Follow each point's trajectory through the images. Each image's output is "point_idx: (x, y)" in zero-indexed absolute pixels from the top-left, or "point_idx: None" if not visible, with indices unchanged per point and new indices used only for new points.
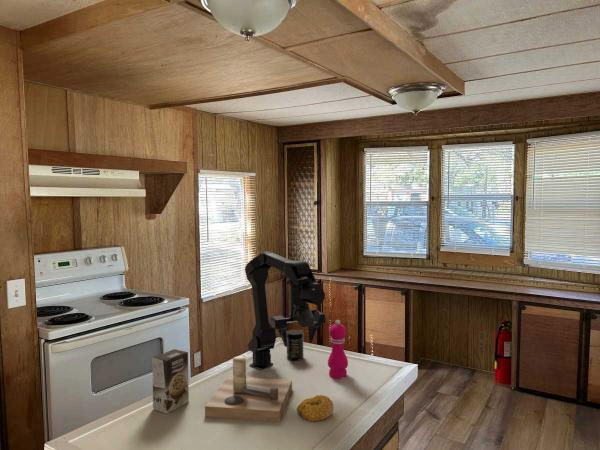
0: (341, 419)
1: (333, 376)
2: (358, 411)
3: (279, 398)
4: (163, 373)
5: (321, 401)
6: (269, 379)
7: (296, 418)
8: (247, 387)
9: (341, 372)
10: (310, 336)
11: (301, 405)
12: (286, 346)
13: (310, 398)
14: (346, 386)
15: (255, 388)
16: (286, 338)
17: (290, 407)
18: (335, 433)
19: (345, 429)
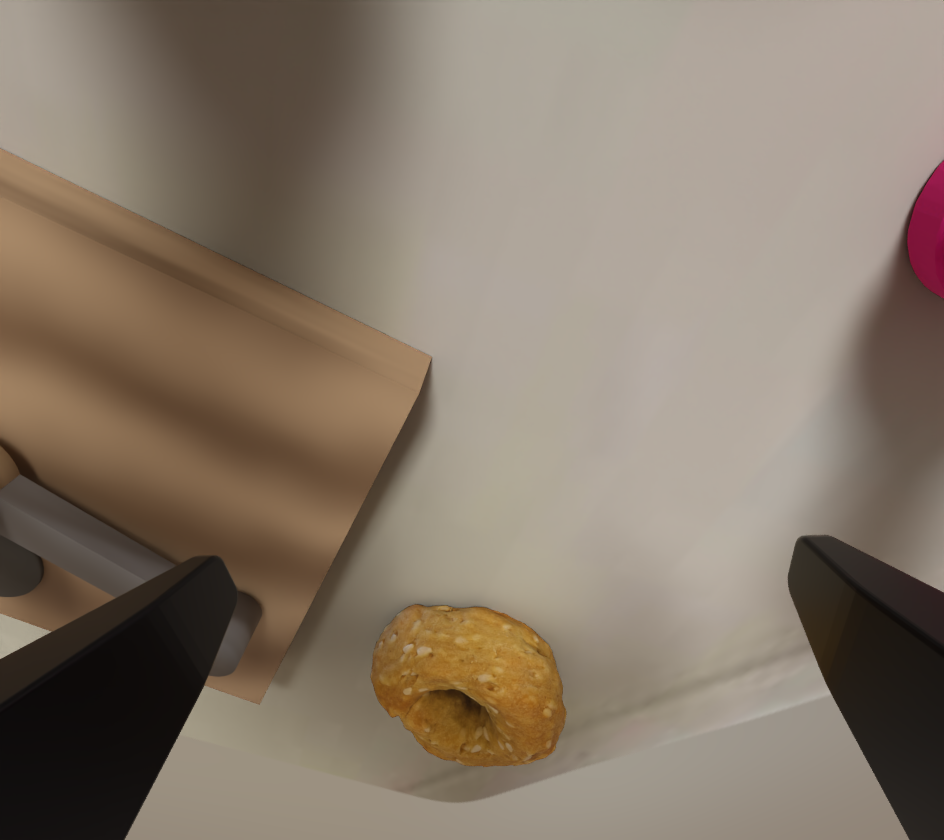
0: (569, 724)
1: (919, 270)
2: (691, 705)
3: (272, 610)
4: None
5: (498, 732)
6: (206, 311)
7: (366, 660)
8: (13, 527)
9: None
10: (875, 714)
11: (384, 707)
12: (230, 607)
13: (455, 681)
14: (870, 459)
15: (80, 559)
16: (131, 812)
17: (359, 574)
18: (492, 774)
19: (544, 770)
